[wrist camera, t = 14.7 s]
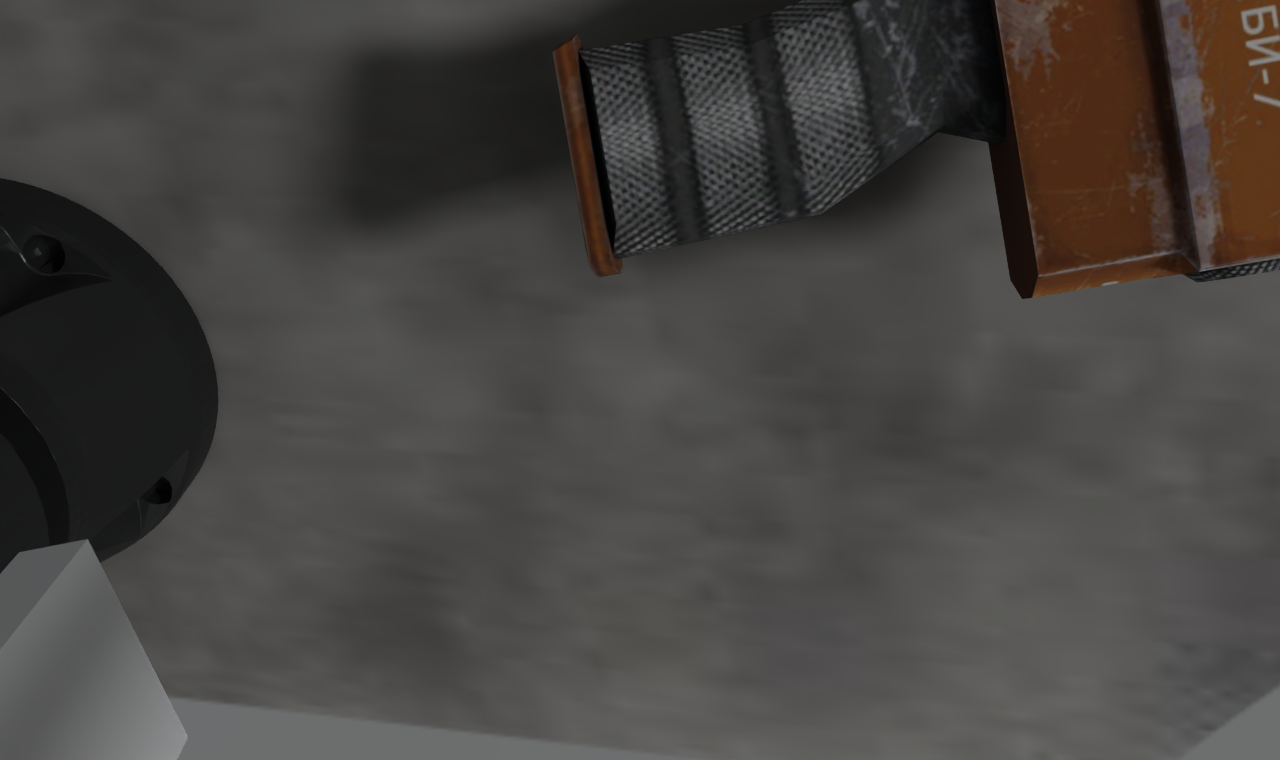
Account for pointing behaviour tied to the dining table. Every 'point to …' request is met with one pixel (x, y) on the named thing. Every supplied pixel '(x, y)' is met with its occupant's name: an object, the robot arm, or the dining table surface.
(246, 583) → the dining table surface
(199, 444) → the robot arm
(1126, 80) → the tool
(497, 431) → the dining table surface
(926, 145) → the dining table surface
